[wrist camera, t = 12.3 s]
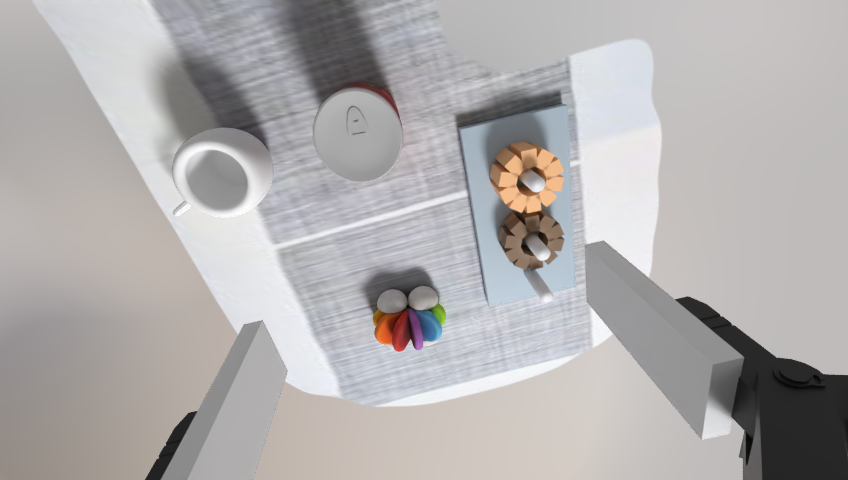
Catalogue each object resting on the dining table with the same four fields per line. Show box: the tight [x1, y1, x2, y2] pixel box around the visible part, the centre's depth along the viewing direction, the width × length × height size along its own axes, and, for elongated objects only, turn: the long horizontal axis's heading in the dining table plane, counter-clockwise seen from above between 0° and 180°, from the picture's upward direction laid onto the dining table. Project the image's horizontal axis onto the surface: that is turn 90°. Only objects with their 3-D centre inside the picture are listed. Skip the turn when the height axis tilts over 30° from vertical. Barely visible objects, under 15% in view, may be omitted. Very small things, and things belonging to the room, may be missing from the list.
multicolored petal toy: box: [373, 286, 446, 352], centre depth 50 cm, size 8×10×7 cm
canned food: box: [313, 82, 403, 183], centre depth 38 cm, size 8×8×11 cm
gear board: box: [458, 104, 576, 307], centre depth 45 cm, size 24×12×8 cm, turn 12°
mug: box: [172, 128, 274, 217], centre depth 40 cm, size 12×8×8 cm
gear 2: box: [498, 209, 564, 270], centre depth 47 cm, size 7×7×3 cm
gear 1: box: [490, 141, 564, 213], centre depth 43 cm, size 7×7×4 cm
